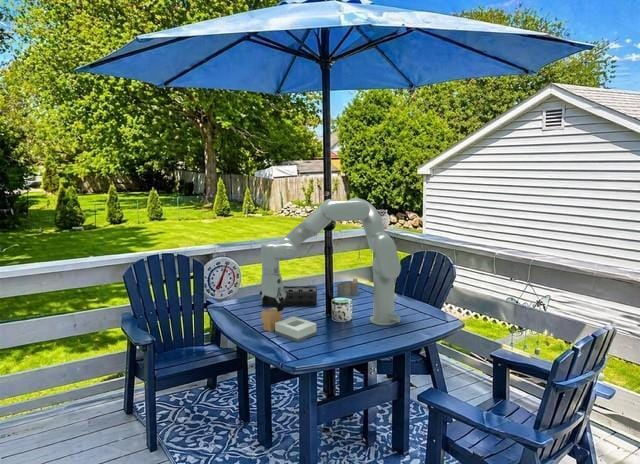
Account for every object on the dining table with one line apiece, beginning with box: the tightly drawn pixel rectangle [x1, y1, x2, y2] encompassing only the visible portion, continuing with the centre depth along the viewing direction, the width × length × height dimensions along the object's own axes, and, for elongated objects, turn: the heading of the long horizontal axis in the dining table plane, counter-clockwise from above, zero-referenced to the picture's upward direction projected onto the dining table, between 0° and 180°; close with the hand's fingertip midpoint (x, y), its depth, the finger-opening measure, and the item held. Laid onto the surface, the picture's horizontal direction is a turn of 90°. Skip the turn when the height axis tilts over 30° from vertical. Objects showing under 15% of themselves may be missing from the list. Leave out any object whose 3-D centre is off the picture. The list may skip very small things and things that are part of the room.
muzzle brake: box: [260, 285, 318, 306], centre depth 238 cm, size 10×28×10 cm, turn 89°
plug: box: [261, 307, 283, 332], centre depth 205 cm, size 6×7×8 cm
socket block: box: [274, 315, 317, 343], centre depth 199 cm, size 14×11×5 cm
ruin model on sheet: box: [336, 278, 359, 298], centre depth 253 cm, size 11×3×10 cm, turn 96°
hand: (272, 308), depth 205 cm, fingers open, 9 cm apart
